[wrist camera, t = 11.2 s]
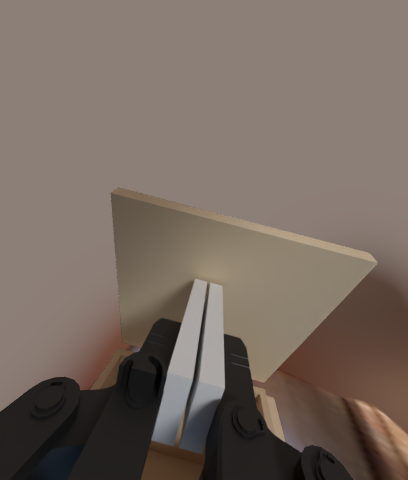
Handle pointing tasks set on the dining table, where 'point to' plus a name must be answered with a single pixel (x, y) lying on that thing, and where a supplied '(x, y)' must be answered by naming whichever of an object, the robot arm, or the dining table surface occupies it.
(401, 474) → the dining table surface
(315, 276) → the flap
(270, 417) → the carton
